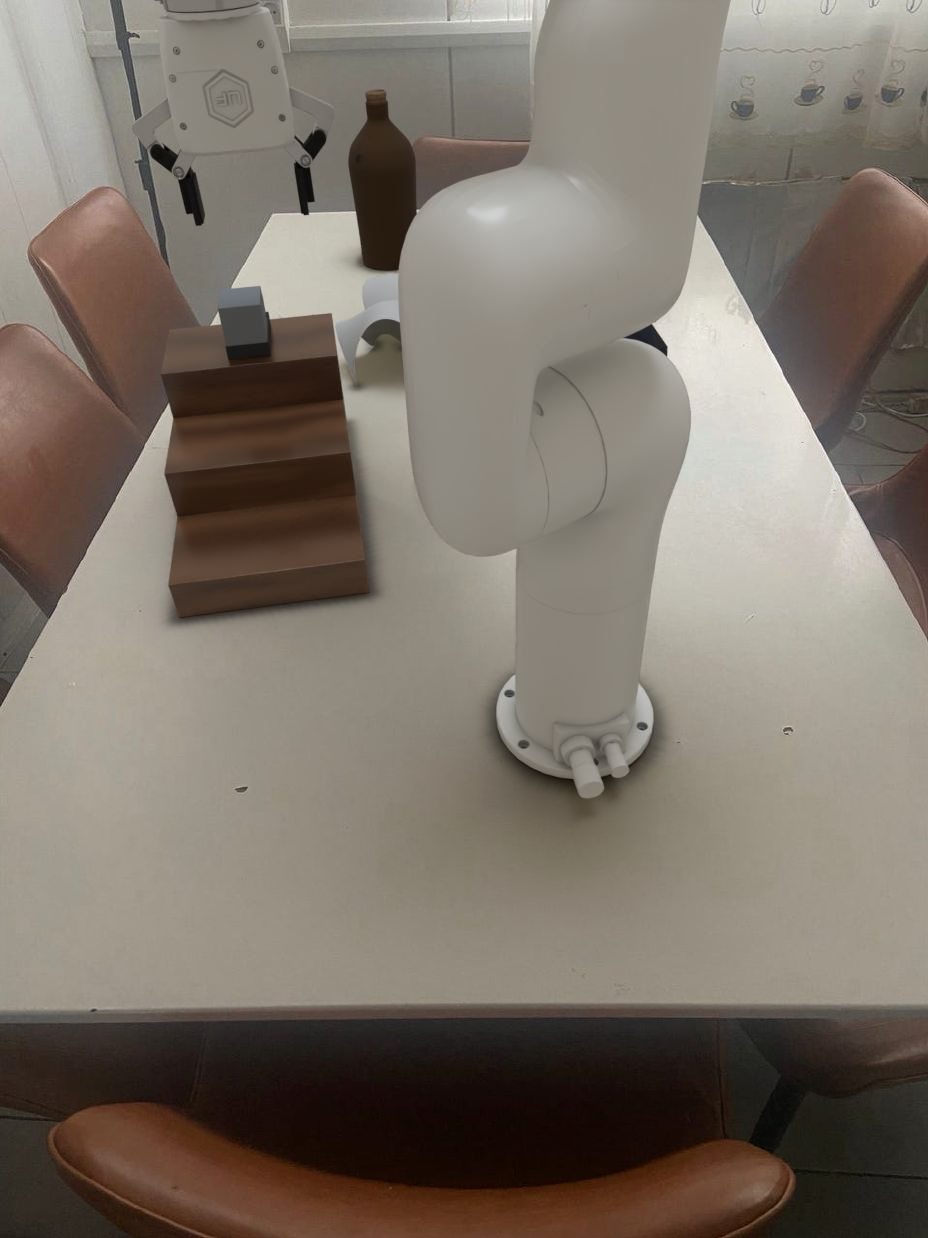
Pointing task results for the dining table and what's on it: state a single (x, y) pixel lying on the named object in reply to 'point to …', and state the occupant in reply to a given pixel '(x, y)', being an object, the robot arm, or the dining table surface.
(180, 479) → the wooden step block
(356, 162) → the olive oil
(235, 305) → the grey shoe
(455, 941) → the dining table surface
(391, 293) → the sculpture
